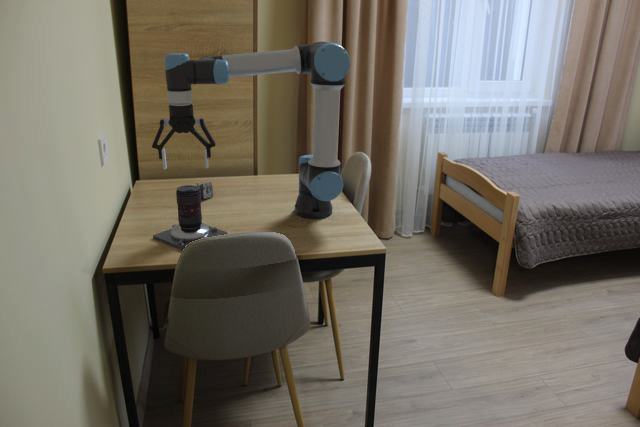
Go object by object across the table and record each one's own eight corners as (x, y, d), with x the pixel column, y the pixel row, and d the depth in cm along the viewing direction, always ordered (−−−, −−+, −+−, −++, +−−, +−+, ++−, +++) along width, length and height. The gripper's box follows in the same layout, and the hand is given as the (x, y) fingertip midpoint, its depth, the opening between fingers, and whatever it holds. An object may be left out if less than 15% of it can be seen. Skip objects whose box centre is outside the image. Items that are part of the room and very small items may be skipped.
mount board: (227, 235, 181) (227, 227, 180) (186, 252, 167) (186, 244, 166) (193, 223, 191) (192, 215, 190) (152, 238, 178) (151, 230, 177)
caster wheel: (201, 196, 228) (220, 196, 224) (185, 199, 217) (204, 198, 213) (200, 181, 227) (219, 181, 223) (184, 183, 217) (203, 182, 213)
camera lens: (205, 231, 176) (202, 190, 171) (181, 234, 173) (178, 192, 168) (200, 223, 183) (197, 183, 178) (177, 226, 180) (173, 185, 175)
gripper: (220, 101, 169) (224, 163, 177) (142, 102, 165) (149, 166, 173) (219, 105, 162) (223, 169, 170) (138, 106, 159) (145, 172, 166)
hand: (186, 168), depth 171 cm, fingers open, 13 cm apart
